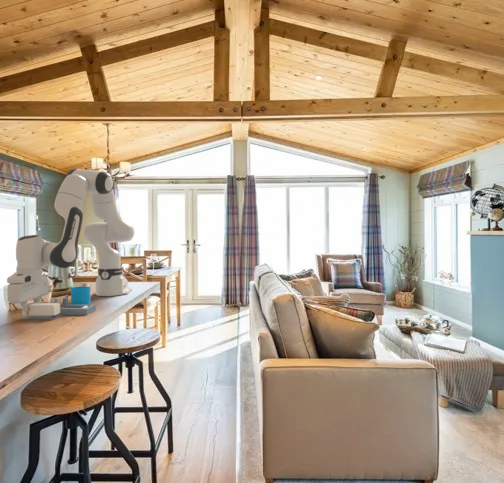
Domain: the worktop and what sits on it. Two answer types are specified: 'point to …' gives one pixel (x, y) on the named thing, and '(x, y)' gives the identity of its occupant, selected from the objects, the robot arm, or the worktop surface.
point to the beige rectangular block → (42, 309)
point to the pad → (40, 317)
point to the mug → (80, 295)
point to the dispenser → (73, 307)
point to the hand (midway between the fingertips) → (30, 310)
